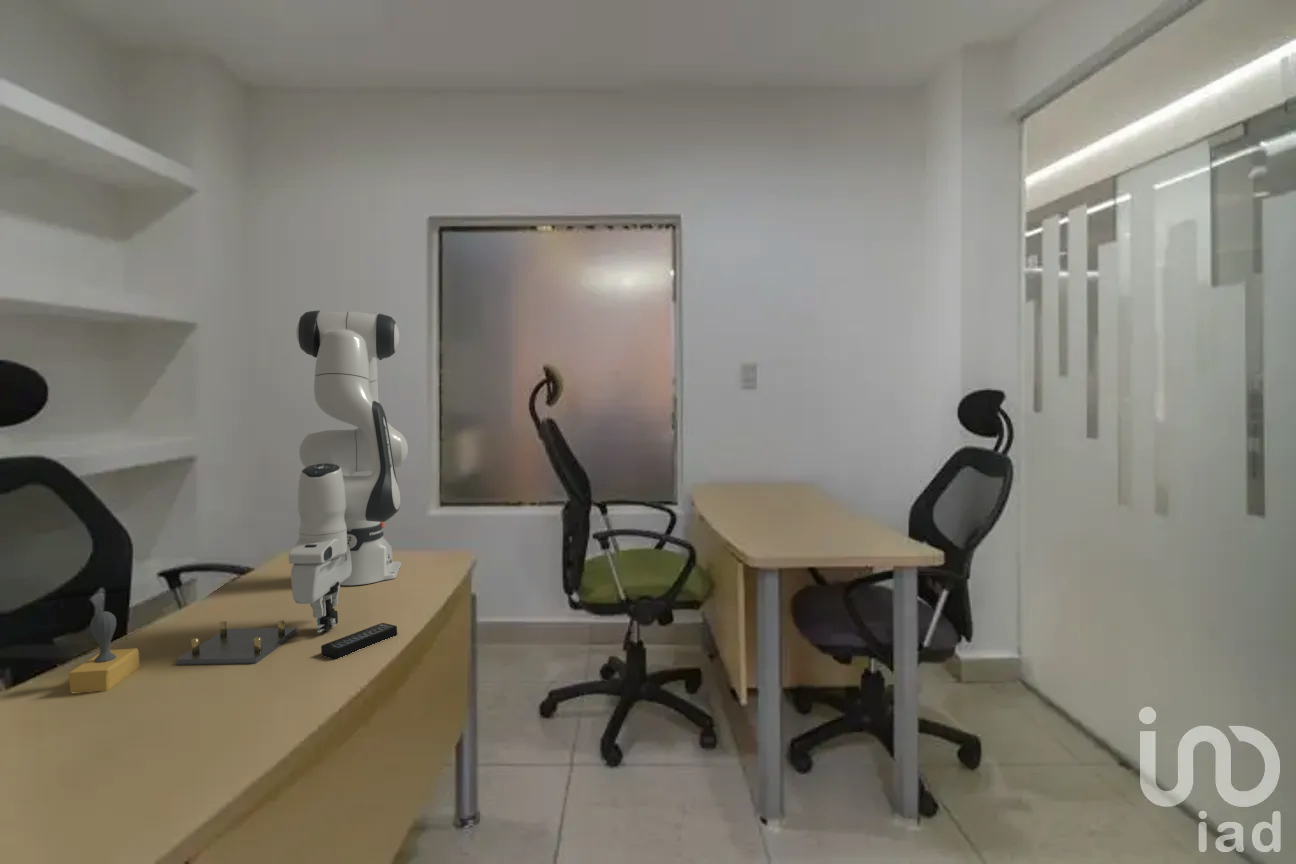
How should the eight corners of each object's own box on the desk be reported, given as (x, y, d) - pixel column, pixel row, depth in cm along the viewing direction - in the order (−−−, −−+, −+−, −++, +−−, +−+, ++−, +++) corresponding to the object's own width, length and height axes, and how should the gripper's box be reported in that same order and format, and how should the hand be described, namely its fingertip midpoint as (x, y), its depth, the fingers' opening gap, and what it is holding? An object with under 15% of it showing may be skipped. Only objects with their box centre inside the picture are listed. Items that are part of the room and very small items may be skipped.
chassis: (226, 633, 141) (225, 616, 141) (296, 632, 142) (296, 615, 142) (176, 664, 125) (175, 645, 125) (256, 663, 126) (255, 644, 126)
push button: (331, 635, 139) (329, 586, 138) (304, 635, 139) (301, 586, 138) (345, 622, 145) (343, 575, 144) (320, 622, 145) (317, 575, 144)
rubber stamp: (109, 691, 115) (105, 620, 114) (68, 694, 113) (64, 622, 113) (140, 667, 124) (137, 601, 124) (103, 670, 123) (100, 603, 122)
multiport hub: (320, 657, 130) (319, 645, 129) (382, 633, 142) (382, 622, 142) (336, 662, 128) (336, 649, 127) (398, 636, 140) (397, 625, 140)
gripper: (328, 533, 151) (330, 595, 152) (283, 557, 131) (286, 629, 132) (358, 533, 152) (360, 595, 153) (318, 557, 131) (320, 628, 132)
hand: (325, 611), depth 142 cm, fingers closed on push button, 5 cm apart
